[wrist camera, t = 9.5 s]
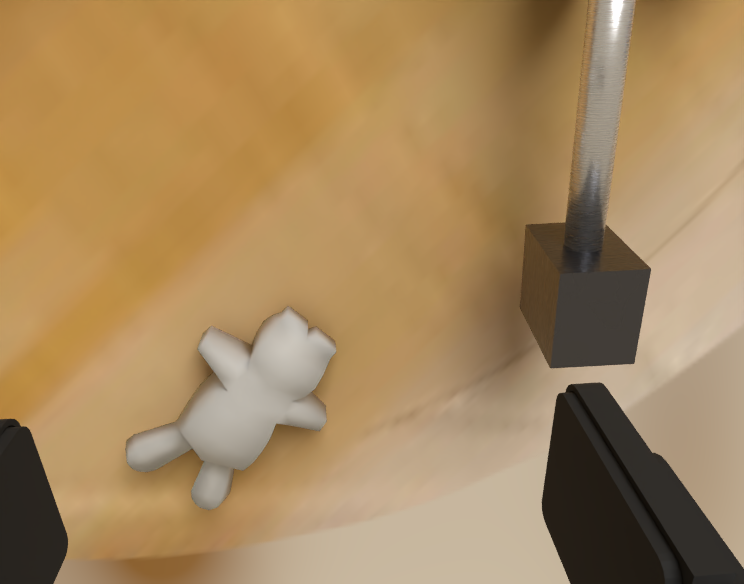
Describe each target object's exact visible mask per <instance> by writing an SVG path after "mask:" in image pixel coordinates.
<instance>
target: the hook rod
mask: <svg viewBox="0 0 744 584" xmlns="http://www.w3.org/2000/svg"><path fill="white" fill-rule="evenodd" d="M635 4H636V0H588V10H587V20H586V29H585V39H584V49H583V58H582V68H581V78H580V88H579V97H578V107H577V117H576V126H575V136H574V146H573V155H572V165H571V175H570V185H569V194H568V204H567V214H566V223H549V224H531V225H526V232H525V246H524V260H523V274H522V288H521V302H520V309H521V311H522V313H523V315H524V317H525V319H526V321H527V323H528V325H529V327H530V329H531V331H532V333H533V335H534V337H535V339H536V341H537V343H538V345H539V347H540V349H541V351H542V353H543V355H544V357H545V359H546V361H547V363H548V365H549V367H550V368H565V367H584V366H602V365H620V364H634V362H635V356H636V351H637V345H638V339H639V334H640V328H641V323H642V317H643V312H644V306H645V300H646V295H647V289H648V284H649V278H650V272H651V268H650V267H649V266H648V265H647V264H646V263H645V262H644V261H643V260H642V259H640V258H639V257H638V256H637V255H636V254H635V253H634V252H633V251H632V250H631V249H630V248H629V247H628V246H627V245H626V244H625V243H624V242H623V241H622V240H621V239H620V238H619V237H618V236H617V235H616V234H615V233H614V232H613V231H612V230H611V229H610V228H609V227H608V226H607V225H606V218H607V211H608V203H609V196H610V189H611V181H612V174H613V166H614V159H615V152H616V144H617V137H618V130H619V122H620V115H621V107H622V100H623V93H624V85H625V78H626V71H627V63H628V56H629V48H630V41H631V34H632V26H633V19H634V12H635Z"/></svg>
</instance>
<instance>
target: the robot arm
mask: <svg viewBox="0 0 744 584" xmlns="http://www.w3.org/2000/svg"><path fill="white" fill-rule="evenodd" d="M542 511H543V516H544V520H545V523H546V525H547V528H548V530H549V533H550V535H551V538H552V540H553V542H554V545H555V547H556V550H557V552H558V555H559V557H560V559H561V562H562V564H563V567H564V569H565V571H566V574H567V576H568V579H569V581H570V583H571V584H744V569H743V567H742V566H741V564H740V563H739V562H738V560H737V559H736V557H735V556H734V555H733V553H732V552H731V550H730V549H729V548H728V546H727V545H726V544H725V542H724V541H723V539H722V538H721V537H720V535H719V534H718V532H717V531H716V530H715V528H714V527H713V526H712V524H711V523H710V521H709V520H708V519H707V517H706V516H705V514H704V513H703V512H702V510H701V509H700V508H699V506H698V505H697V503H696V502H695V500H694V499H693V498H692V496H691V495H690V494H689V492H688V491H687V489H686V488H685V487H684V485H683V484H682V483H681V481H680V480H679V479H678V477H677V475H676V474H675V473H674V471H673V470H672V469H671V467H670V466H669V464H668V463H667V462H666V461H665V460H664V459H663V457H662V456H660V455H658V454H656V453H652V452H651V451H650V449H649V448H648V446H647V445H646V443H645V442H644V441H643V439H642V438H641V436H640V435H639V433H638V432H637V431H636V429H635V428H634V426H633V425H632V424H631V422H630V421H629V419H628V418H627V416H626V415H625V413H624V412H623V411H622V409H621V408H620V406H619V405H618V403H617V402H616V401H615V399H614V398H613V396H612V395H611V394H610V392H609V391H608V389H607V388H606V387H605V386H604V384H602V383H584V384H571V385H568V387H567V389H566V393H559V394H558V396H557V399H556V406H555V413H554V420H553V427H552V434H551V441H550V448H549V455H548V462H547V469H546V476H545V483H544V490H543V498H542ZM67 548H68V537H67V533H66V530H65V527H64V525H63V522H62V519H61V516H60V513H59V510H58V508H57V505H56V502H55V499H54V496H53V494H52V491H51V488H50V485H49V482H48V479H47V477H46V474H45V471H44V468H43V465H42V462H41V460H40V457H39V454H38V451H37V448H36V446H35V443H34V440H33V437H32V434H31V432H30V430H29V429H28V428H27V427H24V426H23V427H21V426H20V424H19V422H18V421H16V420H15V419H0V584H53V583H54V581H55V579H56V577H57V574H58V572H59V570H60V568H61V566H62V563H63V561H64V559H65V556H66V553H67Z"/></svg>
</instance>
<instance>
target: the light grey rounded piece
mask: <svg viewBox="0 0 744 584" xmlns="http://www.w3.org/2000/svg"><path fill="white" fill-rule="evenodd" d="M198 350H199V352H200V353H201V355H202V356H203V357H204V359H205V360H206V361H207V363H208V364H209V366H210V367H211V368H212V370H213V371H214V372H213V373H212V374H211V375H210V376H209V377H208V378H207V379H206V380H205V381H204V382H203V383H202V384H201V385H200V386H199V388H198V389H197V390H196V391H195V393H194V394H193V396H192V397H191V399H190V400H189V402H188V404H187V405H186V407H185V408H184V410H183V411H182V413H181V415H180V416H179V418H178V419H177V421H176V422H173V423H169V424H166V425H163V426H160V427H157V428H153V429H150V430H147V431H144V432H141V433H138V434H134V435H133V436H132V437H130V438H129V439H128V440H127V441H126V448H125V450H126V458H127V463H128V465H129V466H130V467H131V468H132V469H134V470H136V471H140V472H149V471H153V470H156V469H158V468H160V467H162V466H163V465H165V464H167V463H168V462H170V461H172V460H174V459H175V458H177V457H179V456H180V455H182V454H184V453H186V452H187V451H189V450H191V449H193V450H194V451H195V452H196V454H197V455H198V456H199V458H200V459H201V460H203V461H204V463H203V465H202V467H201V470H200V472H199V474H198V476H197V479H196V481H195V483H194V486H193V488H192V490H191V494H192V500H193V501H194V503H195V504H196V505H197V506H199V507H200V508H203V509H207V510H211V509H214V508H217V507H218V506H219V505H220V504H221V503H222V502H223V501H224V500H225V499H226V497H227V496H228V494H229V493H230V490H231V485H232V479H233V473H234V469H238V470H242V471H243V470H245V469H246V468H247V467H248V466H250V465H251V464H252V463H253V462H254V461H255V460H256V458H257V457H258V456H259V455H260V454H261V452H262V451H263V449H264V448H265V446H266V444H267V443H268V441H269V440H270V437H271V435H272V433H273V430H274V428H275V425H276V423H277V424H284V425H290V426H295V427H301V428H306V429H311V430H316V431H320V430H321V428H322V427H323V426H324V424H325V423H326V421H327V420H326V405H325V404H324V403H323V402H322V401H321V400H320V399H319V398H318V397H317V396H316V395H315V394H314V393H313V392H312V391H313V390H314V389H315V388H316V387H317V385H318V383H319V381H320V380H321V378H322V376H323V374H324V372H325V370H326V367H327V365H328V363H329V360H330V358H331V357H332V356H333V355H334V354H335V353H336V344H335V340H334V339H332V338H331V337H330V336H328V335H327V334H326V333H324V332H323V331H322V330H320V329H319V328H317V327H313V328H310V329H308V320H307V319H305V318H304V317H303V316H301V315H300V314H299V313H297V312H296V311H295V310H293V309H292V308H291V307H289V306H287V307H286V308H285V309H284V310H283V311H282V312H280V313H277V314H274V315H272V316H270V317H269V318H267V319H266V320H265V321H264V322H263V323H262V325H261V326H260V328H259V329H258V331H257V333H256V336H255V339H254V342H253V345H251V344H248V343H246V342H244V341H242V340H240V339H238V338H236V337H234V336H232V335H230V334H228V333H226V332H224V331H221V330H219V329H217V328H215V327H213V326H211V327H209V328H208V329H207V330H206V331H205V332H204V333H203V335H202V337H201V340H200V343H199V346H198Z"/></svg>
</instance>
